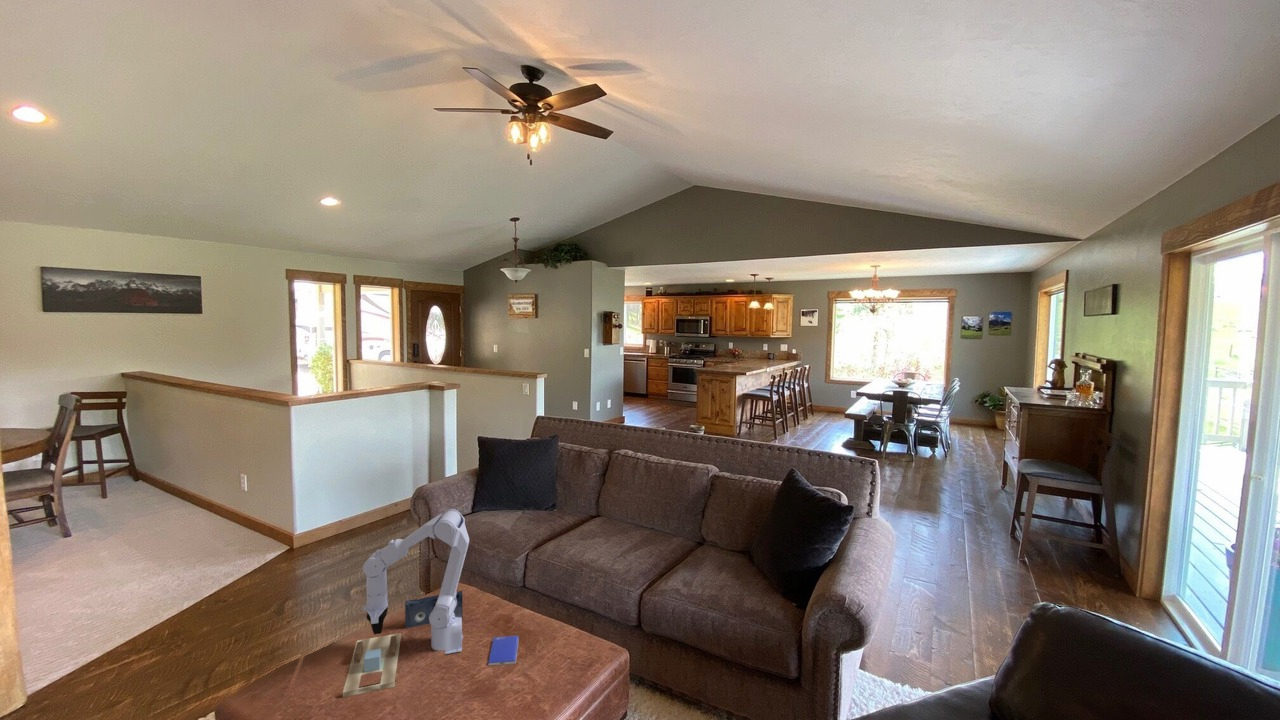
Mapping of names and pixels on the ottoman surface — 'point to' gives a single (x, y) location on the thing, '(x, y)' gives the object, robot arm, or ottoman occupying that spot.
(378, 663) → the blue block
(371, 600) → the robot arm
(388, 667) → the cream flat tray
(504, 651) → the blue book
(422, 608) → the vhs cassette tape
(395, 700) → the ottoman surface
